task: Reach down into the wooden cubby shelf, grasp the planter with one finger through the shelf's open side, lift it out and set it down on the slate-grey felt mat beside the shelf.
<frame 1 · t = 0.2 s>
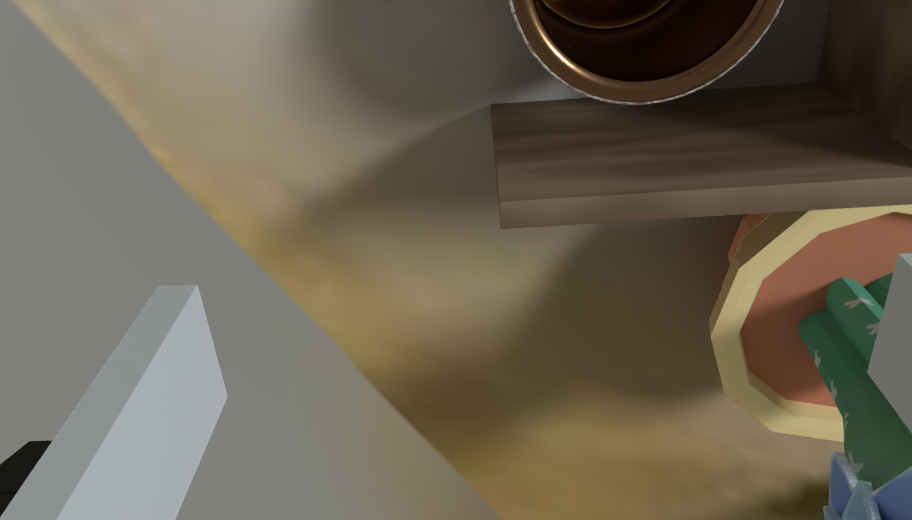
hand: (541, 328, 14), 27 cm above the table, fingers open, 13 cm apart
potted cactus: (804, 246, 44), on the table
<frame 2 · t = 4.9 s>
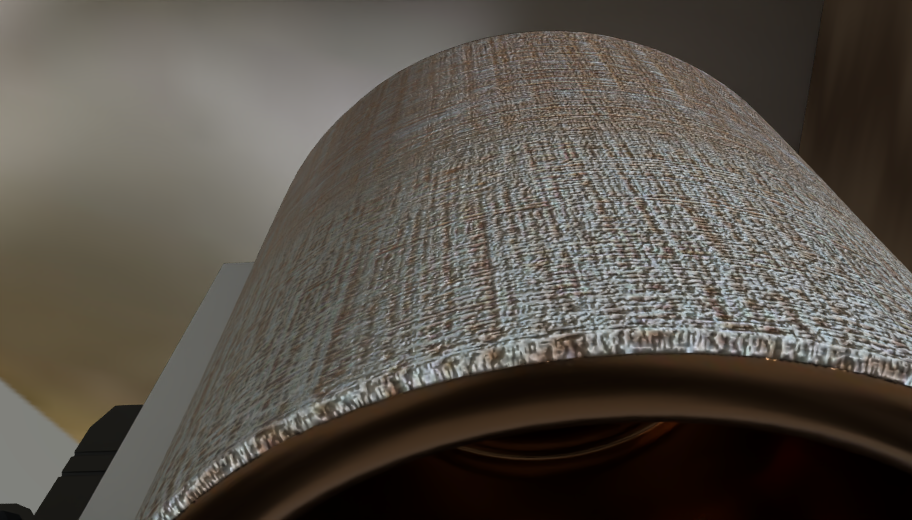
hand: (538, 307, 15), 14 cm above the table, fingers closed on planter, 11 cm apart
planter: (534, 274, 16), point 13 cm above the table, touching gripper
wooden cubby shelf: (616, 101, 28), on the table
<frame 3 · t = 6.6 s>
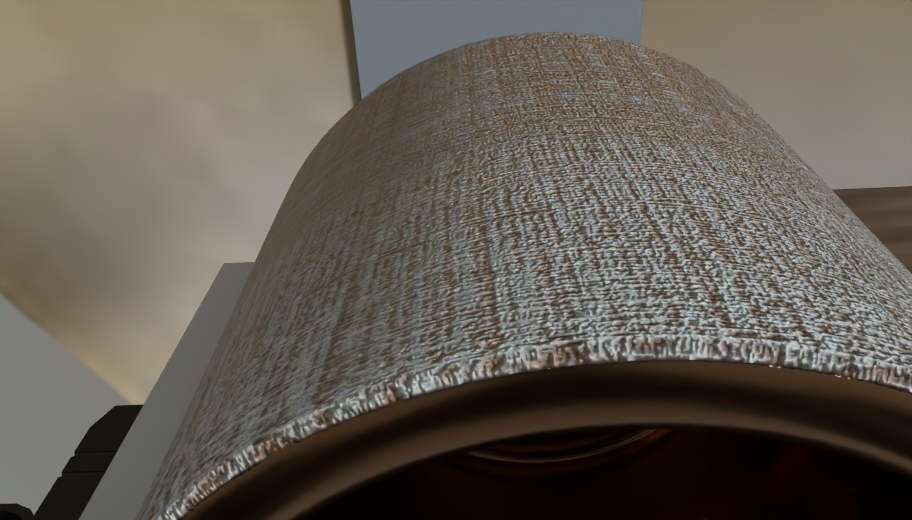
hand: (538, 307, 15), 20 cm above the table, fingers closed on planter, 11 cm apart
planter: (534, 276, 16), point 18 cm above the table, touching gripper
wooden cubby shelf: (732, 352, 40), on the table
mat: (497, 61, 32), on the table
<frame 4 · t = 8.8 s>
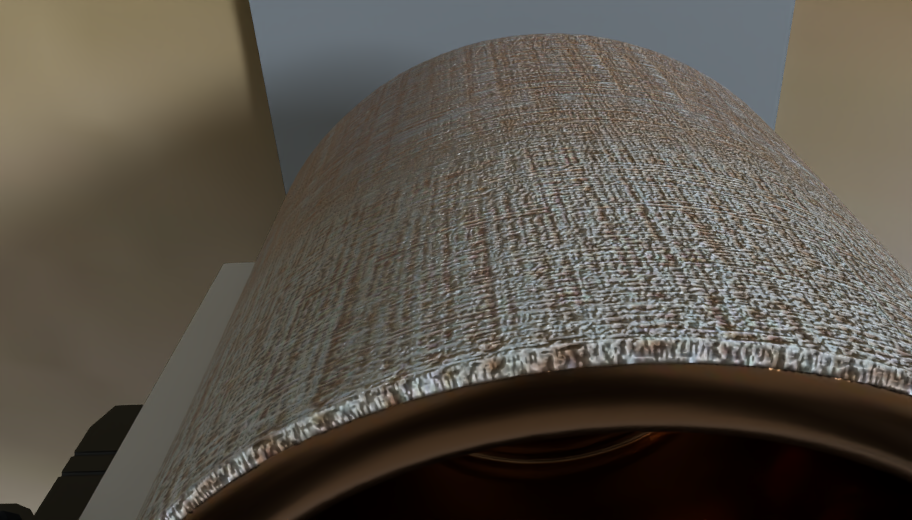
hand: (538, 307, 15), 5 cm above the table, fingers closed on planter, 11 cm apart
planter: (534, 277, 16), point 4 cm above the table, touching gripper
mat: (522, 195, 19), on the table
when the fingers open (2 cm above the table, at t = 10.3 s): planter stays where it is, resting on mat.
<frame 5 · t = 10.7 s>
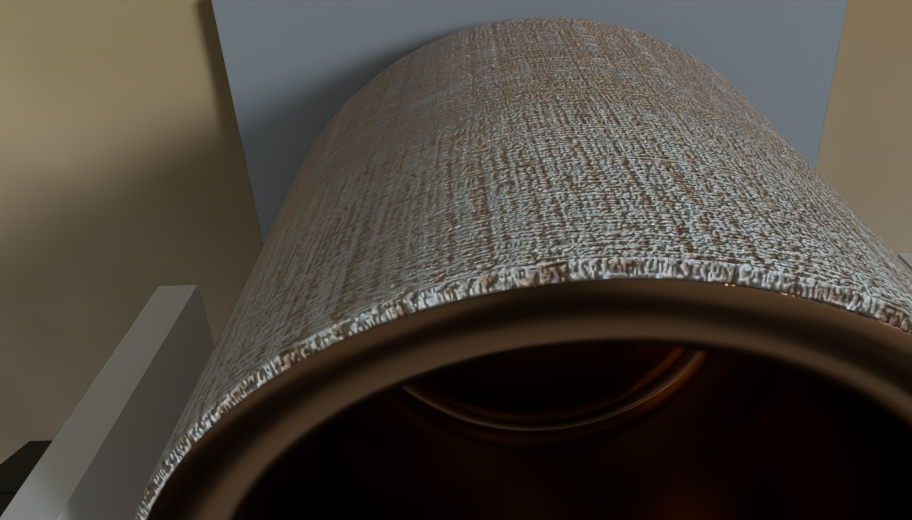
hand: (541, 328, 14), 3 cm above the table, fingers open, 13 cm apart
planter: (533, 252, 17), resting on mat
mat: (529, 248, 17), on the table
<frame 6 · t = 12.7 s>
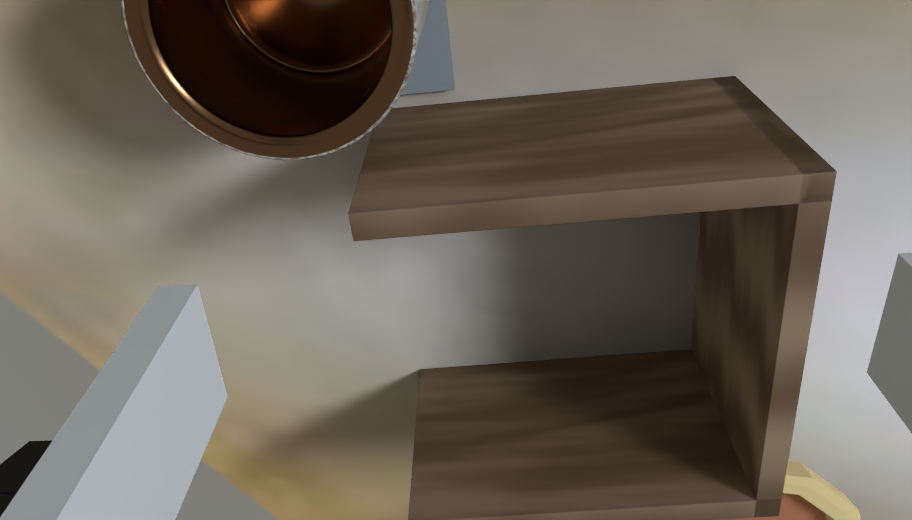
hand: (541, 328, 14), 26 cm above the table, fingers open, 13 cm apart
wooden cubby shelf: (575, 247, 43), on the table
potted cactus: (697, 462, 52), on the table
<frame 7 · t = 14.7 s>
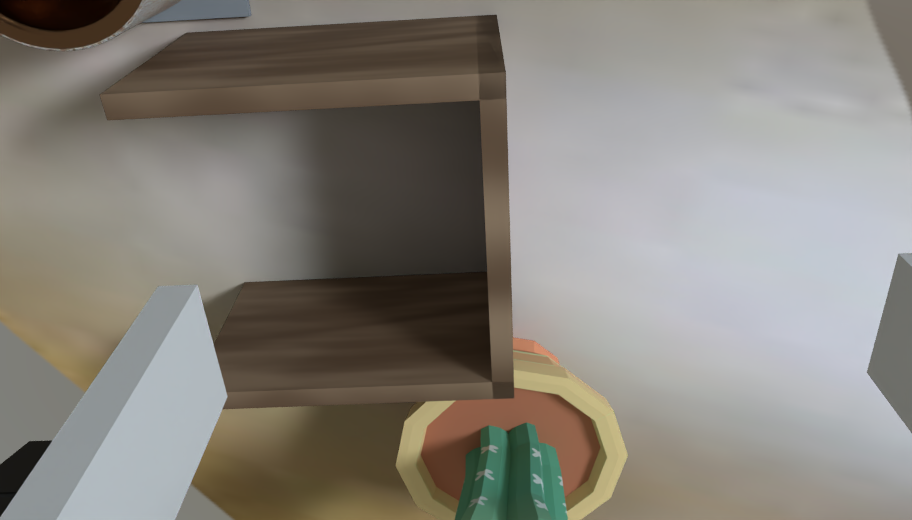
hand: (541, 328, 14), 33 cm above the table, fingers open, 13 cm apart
wooden cubby shelf: (373, 169, 48), on the table
potted cactus: (505, 383, 57), on the table
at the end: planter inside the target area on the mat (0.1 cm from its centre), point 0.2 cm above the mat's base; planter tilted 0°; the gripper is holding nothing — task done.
